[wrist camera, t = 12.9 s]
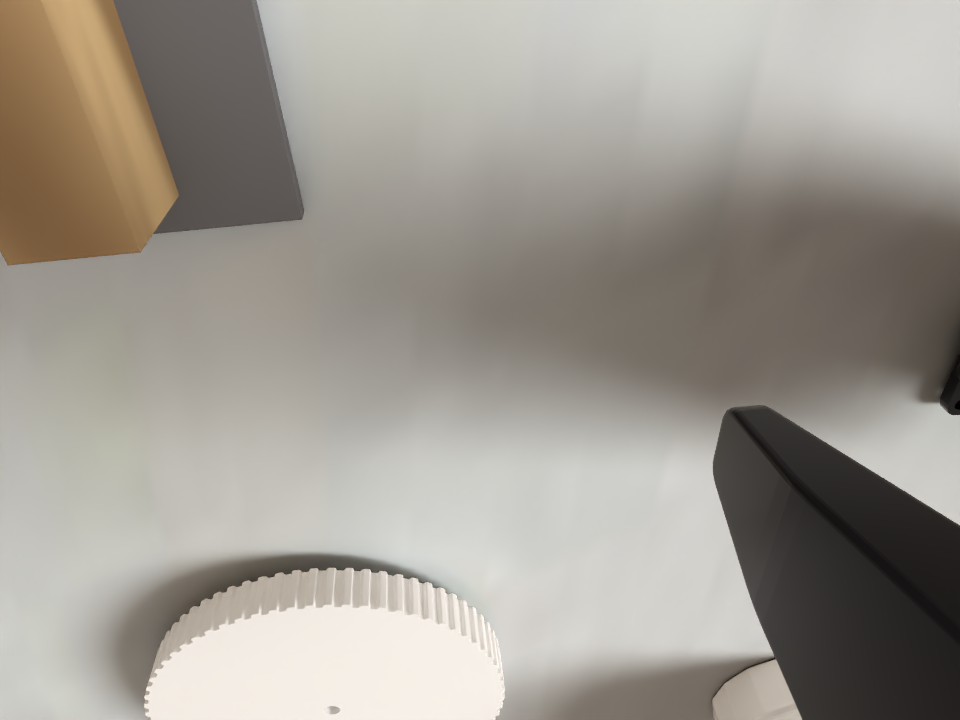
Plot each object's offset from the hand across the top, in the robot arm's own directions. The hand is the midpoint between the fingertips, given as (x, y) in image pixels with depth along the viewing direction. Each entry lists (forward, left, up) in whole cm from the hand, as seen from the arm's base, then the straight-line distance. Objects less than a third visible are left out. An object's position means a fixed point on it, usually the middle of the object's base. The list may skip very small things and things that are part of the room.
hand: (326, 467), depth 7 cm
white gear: (+5, +22, -12) cm, 25 cm away
